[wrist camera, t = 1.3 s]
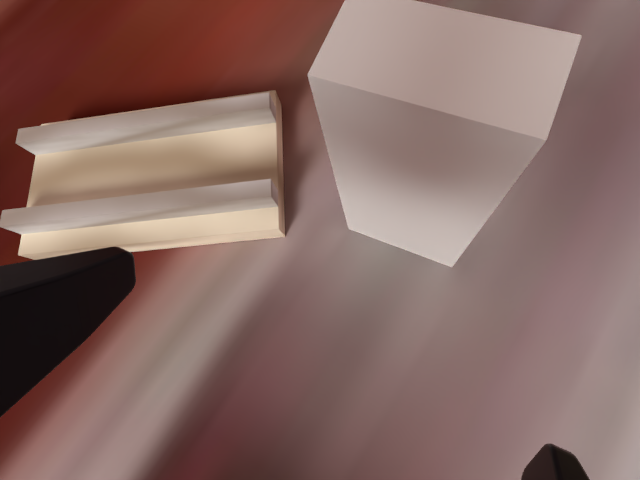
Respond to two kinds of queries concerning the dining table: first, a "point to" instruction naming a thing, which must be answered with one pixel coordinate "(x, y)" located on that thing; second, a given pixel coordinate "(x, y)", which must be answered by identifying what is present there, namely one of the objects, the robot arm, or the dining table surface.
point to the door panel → (433, 116)
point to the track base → (154, 178)
